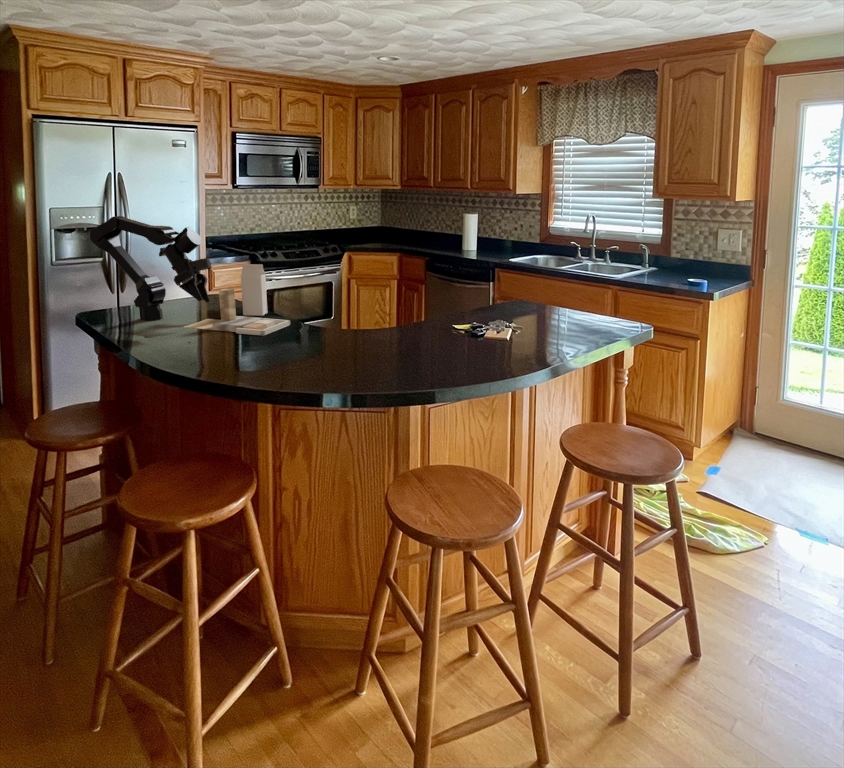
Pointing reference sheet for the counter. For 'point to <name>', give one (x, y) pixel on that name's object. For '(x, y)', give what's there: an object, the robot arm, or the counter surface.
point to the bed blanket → (231, 313)
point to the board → (204, 324)
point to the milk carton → (253, 289)
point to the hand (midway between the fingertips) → (204, 301)
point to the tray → (268, 330)
